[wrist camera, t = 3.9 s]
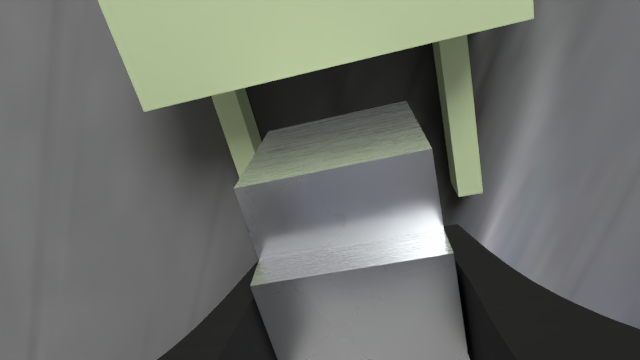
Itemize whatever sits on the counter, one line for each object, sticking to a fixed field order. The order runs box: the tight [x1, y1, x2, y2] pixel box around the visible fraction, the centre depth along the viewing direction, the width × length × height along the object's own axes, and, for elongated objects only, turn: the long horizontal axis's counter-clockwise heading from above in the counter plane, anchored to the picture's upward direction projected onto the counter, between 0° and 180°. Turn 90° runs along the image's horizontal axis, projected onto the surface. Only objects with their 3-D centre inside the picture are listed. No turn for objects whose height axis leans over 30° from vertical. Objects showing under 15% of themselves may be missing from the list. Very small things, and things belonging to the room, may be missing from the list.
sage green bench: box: [98, 0, 534, 197], centre depth 15 cm, size 11×12×5 cm
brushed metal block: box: [233, 101, 469, 360], centre depth 12 cm, size 7×4×6 cm, turn 14°
